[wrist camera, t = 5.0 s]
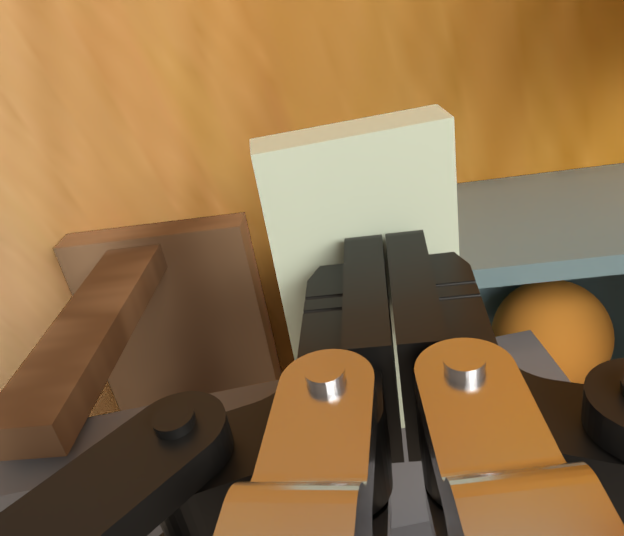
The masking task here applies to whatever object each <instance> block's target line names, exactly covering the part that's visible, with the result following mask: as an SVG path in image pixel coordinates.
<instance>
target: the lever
mask: <svg viewBox="0 0 624 536" xmlns="http://www.w3.org/2000/svg"><path fill="white" fill-rule="evenodd" d="M249 140H250V153H251V159H252V164H253V169H254V173H255V178H256V183H257V187H258V192H259V197H260V201H261V206H262V211H263V215H264V220H265V225H266V229H267V234H268V239H269V243H270V248H271V253H272V257H273V262H274V267H275V272H276V276H277V281H278V286H279V290H280V295H281V300H282V304H283V309H284V314H285V318H286V323H287V328H288V332H289V337H290V342H291V346H292V351H293V356H294V360H296V359H297V355H298V347H299V340H300V332H301V325H302V317H303V314H304V311H303V309H304V302H305V294H306V287H307V281H308V279H309V278H310V277H311V276H312V275H313V274H314V272H315V271H316V270H317V269H318V268H319V266H324V265H333V264H343V263H344V239H345V238H352V237H361V236H370V235H379V234H382V241H383V250H384V260H385V269H386V278H387V288H388V297H389V306H390V316H391V325H392V335H393V346H394V356H395V367H396V377H397V388H398V399H399V409H400V420H401V430H402V441H403V451H404V462H403V463H392V476H393V489H392V493H391V496H390V497H391V506H392V521H391V536H433V534H432V530H431V525H430V521H429V516H428V511H427V506H426V496H425V485H424V476H423V469H422V461H415V462H409V459H408V450H407V440H406V431H405V421H404V412H403V402H402V393H401V383H400V374H399V364H398V355H397V345H396V335H395V326H394V316H393V306H392V296H391V287H390V277H389V267H388V258H387V248H386V238H385V234H387V233H396V232H405V231H414V230H423V232H424V236H425V240H426V245H427V249H428V253H429V254H437V253H447V252H455V253H456V254H457V255H459V230H458V205H457V179H456V154H455V129H454V117H453V116H452V115H451V114H449V113H448V112H447V111H445V110H444V109H443V108H442V107H440V106H439V105H438V104H434V105H429V106H423V107H418V108H413V109H407V110H402V111H397V112H391V113H386V114H381V115H375V116H370V117H365V118H359V119H354V120H349V121H343V122H338V123H332V124H327V125H322V126H316V127H311V128H306V129H300V130H295V131H290V132H284V133H279V134H274V135H268V136H263V137H258V138H252V139H249ZM459 256H460V255H459ZM496 340H497V343H498V346H500V347H502V348H503V349H505V350H506V351H507V352H508V353H509V354H510V355H511V356H512V357H513V359H514V360H515V362H516V364H517V366H518V368H520V369H521V370H523V371H525V372H528V373H530V374H533V375H535V376H539V377H542V378H547V379H552V380H558V381H566V382H571V381H570V380H569V379H568V378H567V376H566V375H565V374H564V372H563V371H562V370H561V368H560V367H559V366H558V365H557V363H556V362H555V361H554V359H553V358H552V357H551V356H550V354H549V353H548V352H547V350H546V349H545V348H544V347H543V345H542V344H541V343H540V341H539V340H538V339H537V338H536V336H535V335H534V334H533V332H532V331H531V330H527V331H522V332H517V333H512V334H507V335H502V336H497V337H496ZM278 382H279V380H275V381H270V382H265V383H259V384H254V385H249V386H244V387H239V388H234V389H229V390H224V391H219V392H214V393H209V394H211V395H213V396H215V397H217V398H218V399H219V400H220V401H221V402H222V403H223V406H224V408H225V411H230V410H233V409H236V408H239V407H242V406H245V405H249V404H252V403H255V402H257V401H260V400H262V399H264V398H266V397H268V396H270V395H272V394H273V393H275V392H276V389H277V385H278ZM148 406H149V405H148ZM146 407H147V406H143V407H138V408H133V409H128V410H123V411H118V412H113V413H108V414H103V415H98V416H93V417H88V418H87V420H86V422H85V424H84V425H83V427H82V429H81V431H80V433H79V435H78V437H77V439H76V440H75V442H74V444H73V446H72V448H71V450H70V452H69V454H68V455H67V456H64V457H51V458H37V459H23V460H10V461H0V512H1V511H3V510H4V509H6V508H7V507H8V506H10V505H11V504H13V503H14V502H15V501H17V500H18V499H19V498H21V497H22V496H24V495H25V494H26V493H28V492H29V491H31V490H32V489H33V488H35V487H36V486H38V485H39V484H40V483H42V482H43V481H44V480H46V479H47V478H49V477H50V476H51V475H53V474H54V473H56V472H57V471H58V470H60V469H61V468H63V467H64V466H65V465H67V464H68V463H69V462H71V461H72V460H74V459H75V458H76V457H78V456H79V455H81V454H82V453H83V452H85V451H86V450H88V449H89V448H90V447H92V446H93V445H94V444H96V443H97V442H99V441H100V440H101V439H103V438H104V437H106V436H107V435H108V434H110V433H111V432H112V431H114V430H115V429H117V428H118V427H119V426H121V425H122V424H124V423H125V422H126V421H128V420H129V419H131V418H132V417H133V416H135V415H136V414H137V413H139V412H140V411H142V410H143V409H144V408H146ZM161 533H163V531H162V529H161V526H160V525H159V526H158V527H156V528H155V529H154V530H153V531H152V532H151V533H150V534H148V535H147V536H159V535H160V534H161Z"/></svg>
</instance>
